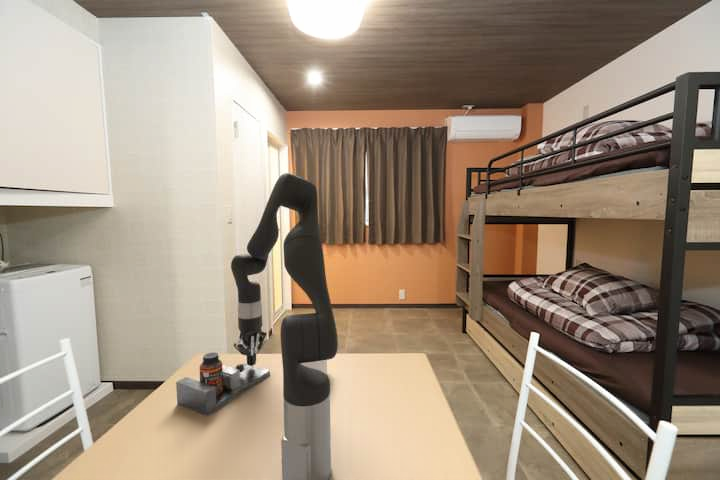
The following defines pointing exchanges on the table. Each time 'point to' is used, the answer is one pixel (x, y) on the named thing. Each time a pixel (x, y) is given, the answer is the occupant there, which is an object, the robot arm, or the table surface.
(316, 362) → the cylinder with rectangular tab
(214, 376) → the supplement bottle
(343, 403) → the table surface
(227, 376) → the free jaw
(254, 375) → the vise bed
